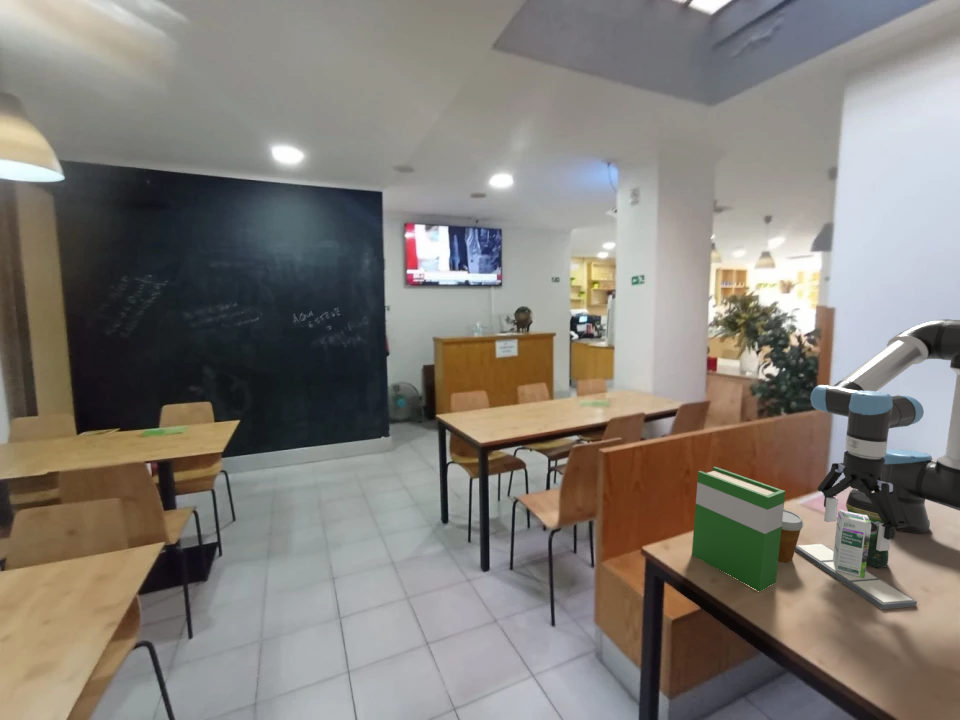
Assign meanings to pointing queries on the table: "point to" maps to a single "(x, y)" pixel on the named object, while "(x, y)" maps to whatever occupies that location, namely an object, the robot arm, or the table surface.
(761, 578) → the hardback book
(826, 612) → the table surface
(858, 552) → the syrup box
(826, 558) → the board
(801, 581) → the table surface
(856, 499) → the coffee jar
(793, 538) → the disposable coffee cup
